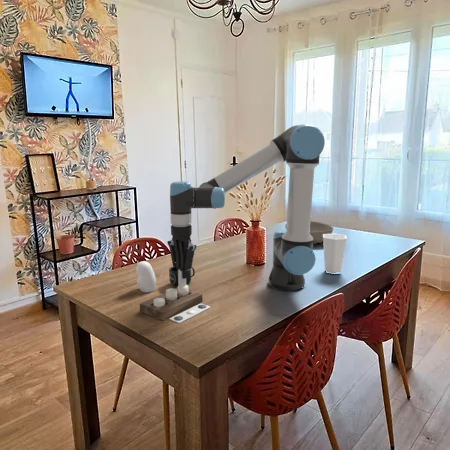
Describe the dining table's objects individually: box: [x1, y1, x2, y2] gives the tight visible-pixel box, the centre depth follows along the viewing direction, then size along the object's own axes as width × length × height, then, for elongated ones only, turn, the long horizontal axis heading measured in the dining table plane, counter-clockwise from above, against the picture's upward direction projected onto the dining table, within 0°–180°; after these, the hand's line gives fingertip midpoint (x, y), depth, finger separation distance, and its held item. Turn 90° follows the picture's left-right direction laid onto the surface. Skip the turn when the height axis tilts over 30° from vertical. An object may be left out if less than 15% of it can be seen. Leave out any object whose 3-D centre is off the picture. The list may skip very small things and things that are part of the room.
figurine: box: [135, 260, 157, 293], centre depth 158 cm, size 7×8×12 cm
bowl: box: [284, 220, 334, 245], centre depth 231 cm, size 28×28×10 cm
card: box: [168, 302, 212, 324], centre depth 138 cm, size 5×16×1 cm, turn 141°
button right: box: [177, 284, 190, 297], centre depth 147 cm, size 4×4×4 cm
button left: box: [154, 298, 165, 308], centre depth 139 cm, size 4×4×4 cm
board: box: [139, 287, 203, 321], centre depth 143 cm, size 12×20×3 cm, turn 141°
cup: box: [322, 232, 348, 273], centre depth 177 cm, size 11×10×17 cm
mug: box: [168, 265, 196, 288], centre depth 165 cm, size 12×9×7 cm
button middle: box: [165, 287, 177, 302], centre depth 143 cm, size 4×4×4 cm
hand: (182, 285), depth 147 cm, fingers closed
